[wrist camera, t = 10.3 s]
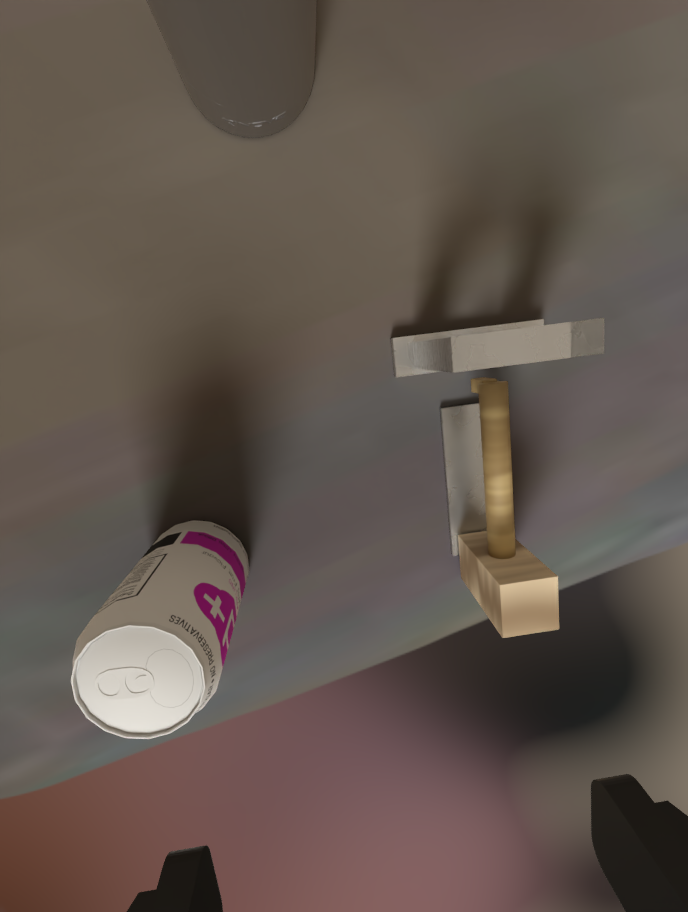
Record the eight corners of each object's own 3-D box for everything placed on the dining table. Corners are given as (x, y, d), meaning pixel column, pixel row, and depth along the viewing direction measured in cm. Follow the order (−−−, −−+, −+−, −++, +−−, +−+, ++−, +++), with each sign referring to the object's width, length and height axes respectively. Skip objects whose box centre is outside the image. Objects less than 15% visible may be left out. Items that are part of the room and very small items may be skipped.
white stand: (390, 338, 37) (424, 331, 26) (537, 320, 38) (629, 305, 27) (412, 559, 41) (448, 631, 30) (544, 540, 42) (626, 603, 31)
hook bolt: (446, 380, 37) (489, 387, 28) (495, 374, 37) (552, 379, 29) (461, 577, 41) (502, 638, 32) (505, 570, 41) (559, 629, 32)
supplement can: (244, 513, 39) (206, 607, 24) (254, 602, 41) (224, 740, 26) (145, 521, 39) (45, 622, 24) (159, 611, 40) (75, 756, 26)
